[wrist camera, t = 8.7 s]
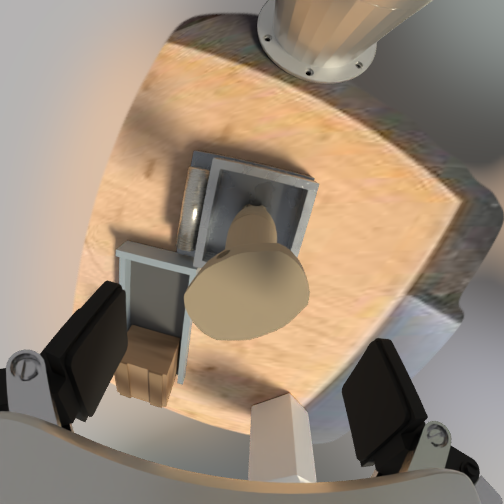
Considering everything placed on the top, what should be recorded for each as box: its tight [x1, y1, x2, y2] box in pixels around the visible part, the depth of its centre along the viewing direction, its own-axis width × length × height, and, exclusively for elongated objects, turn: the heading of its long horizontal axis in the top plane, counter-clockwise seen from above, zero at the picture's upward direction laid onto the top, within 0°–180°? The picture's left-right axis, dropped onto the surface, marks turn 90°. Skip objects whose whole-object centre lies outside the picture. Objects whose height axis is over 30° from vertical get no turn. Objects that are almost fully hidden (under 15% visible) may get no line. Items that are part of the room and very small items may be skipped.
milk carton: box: [248, 393, 316, 483], centre depth 32 cm, size 7×7×19 cm
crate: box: [114, 325, 180, 408], centre depth 32 cm, size 7×7×7 cm
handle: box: [184, 204, 310, 340], centre depth 21 cm, size 5×6×15 cm
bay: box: [116, 240, 201, 384], centre depth 33 cm, size 20×9×3 cm, turn 167°
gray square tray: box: [176, 150, 319, 268], centre depth 27 cm, size 11×12×4 cm
